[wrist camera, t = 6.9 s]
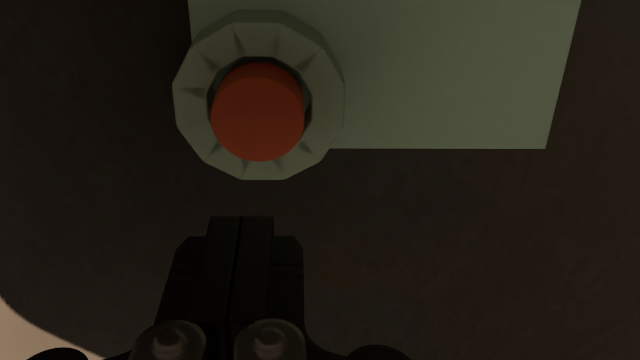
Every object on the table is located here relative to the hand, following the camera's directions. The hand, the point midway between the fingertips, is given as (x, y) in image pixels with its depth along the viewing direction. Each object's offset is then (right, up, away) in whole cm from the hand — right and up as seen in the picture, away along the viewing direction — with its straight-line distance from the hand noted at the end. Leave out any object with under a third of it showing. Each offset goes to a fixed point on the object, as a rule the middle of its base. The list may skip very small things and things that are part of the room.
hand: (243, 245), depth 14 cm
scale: (+4, +9, +8) cm, 13 cm away
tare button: (0, +4, +7) cm, 8 cm away
